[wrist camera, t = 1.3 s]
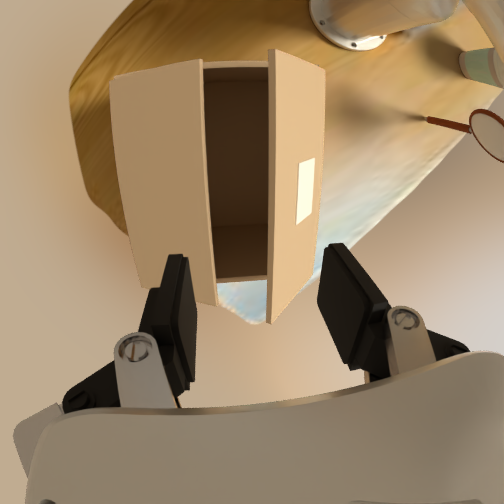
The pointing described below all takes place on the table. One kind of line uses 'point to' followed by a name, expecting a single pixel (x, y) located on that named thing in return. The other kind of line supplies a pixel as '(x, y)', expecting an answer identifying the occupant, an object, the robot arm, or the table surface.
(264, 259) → the carton
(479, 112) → the magnifying glass
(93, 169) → the table surface
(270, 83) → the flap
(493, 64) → the coffee cup
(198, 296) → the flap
